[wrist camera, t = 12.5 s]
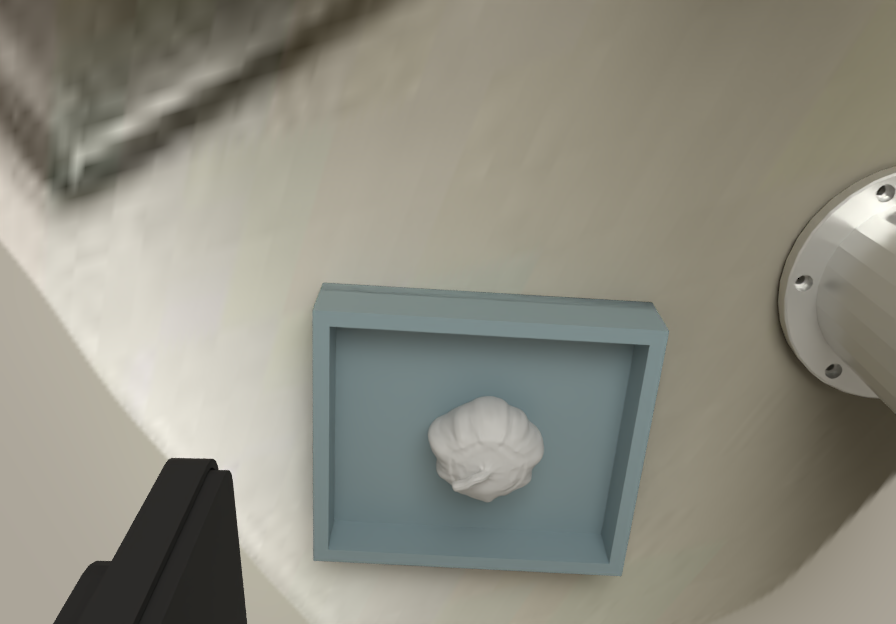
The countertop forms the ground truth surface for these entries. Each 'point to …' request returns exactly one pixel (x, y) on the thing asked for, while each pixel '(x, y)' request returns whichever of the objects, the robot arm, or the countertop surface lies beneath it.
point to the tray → (458, 382)
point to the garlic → (485, 448)
